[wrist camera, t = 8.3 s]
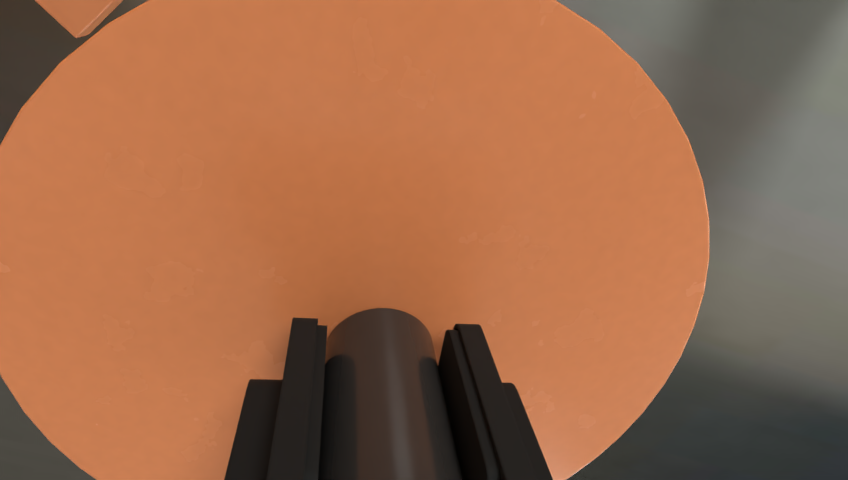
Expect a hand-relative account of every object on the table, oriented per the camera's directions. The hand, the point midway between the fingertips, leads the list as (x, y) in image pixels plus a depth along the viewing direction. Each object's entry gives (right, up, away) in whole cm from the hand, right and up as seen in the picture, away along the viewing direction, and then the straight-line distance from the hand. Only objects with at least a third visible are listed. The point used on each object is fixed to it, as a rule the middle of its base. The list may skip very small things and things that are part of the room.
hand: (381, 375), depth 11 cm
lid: (0, +1, +1) cm, 1 cm away
